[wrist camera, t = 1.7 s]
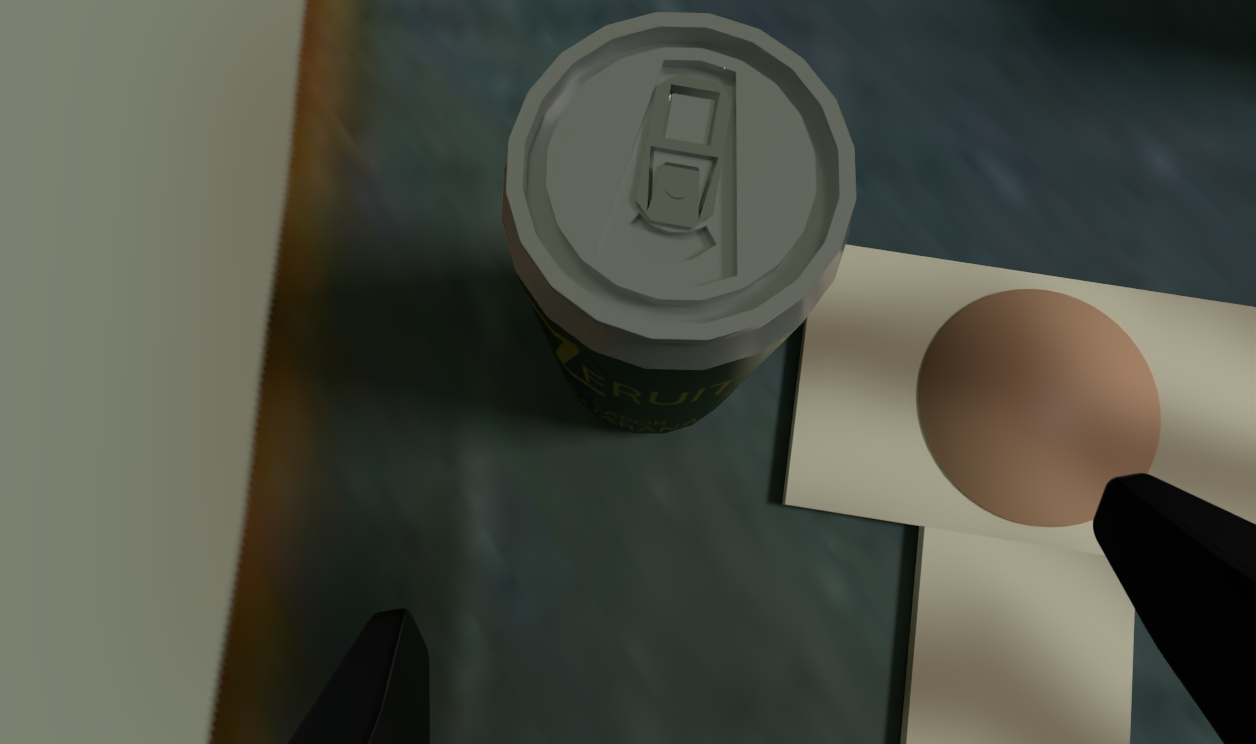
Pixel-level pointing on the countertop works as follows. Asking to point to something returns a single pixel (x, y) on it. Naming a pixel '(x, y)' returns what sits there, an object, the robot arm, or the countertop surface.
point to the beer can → (675, 210)
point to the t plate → (1015, 469)
